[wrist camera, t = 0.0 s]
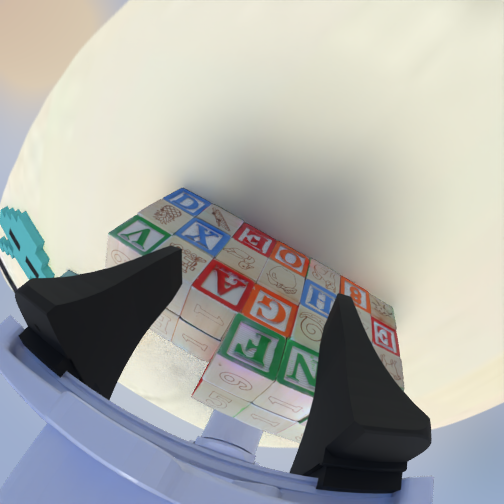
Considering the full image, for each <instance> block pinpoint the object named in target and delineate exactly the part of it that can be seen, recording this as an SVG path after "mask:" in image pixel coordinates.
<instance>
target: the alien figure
mask: <svg viewBox="0 0 504 504" xmlns="http://www.w3.org/2000/svg"><path fill="white" fill-rule="evenodd" d="M0 225H1V227H2V228H3V230H4V232H5V234H6V236H7V238H8V240H6V238H5V237H2V238H1V239H0V248H1V250H2V252H4V251H5V252H6V254H7V255H9V254H10V255H11V257H12V259H13V258H14V257H15V258H16V260H17V261H18V263H19V265H20V266H21V268H22V269H23V271H24V272H25V274H26V275H27V277H28V278H29V280H30V279H32V278H54V275H55V274H54V273H53V272H52V270H51V269H50V267H49V266H48V262H49V257H48V256H47V254H46V253H45V251H44V250H43V246H44V242H45V241H44V240H43V238H42V237H41V235H40V234H39V232H38V230H37V229H36V227H35V226H34V224H33V222H32V221H31V219H30V217H29V216H28V214H27V212H26V211H25V212H23V213H22V214H21V212H20V210H17V211H14V209H13V208H11V209H9V208H8V206H7V207H5V208H3V209H1V212H0Z"/></svg>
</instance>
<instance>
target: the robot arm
mask: <svg viewBox="0 0 504 504" xmlns="http://www.w3.org/2000/svg"><path fill="white" fill-rule="evenodd" d="M181 285H182V249H181V248H178V247H174V246H167V247H164V248H162V249H159V250H156V251H154V252H151V253H148V254H146V255H143V256H141V257H138V258H136V259H133V260H130V261H127V262H125V263H122V264H119V265H116V266H113V267H110V268H107V269H103V270H99V271H95V272H91V273H85V274H80V275H75V276H67V277H56V278H32V279H30V280H29V281H28V282H26V283H25V284H24V285H22V286H21V287H20V288H19V289H17V290H16V292H15V298H16V302H17V304H18V307H19V309H20V311H21V313H22V315H23V317H24V319H25V321H26V323H27V325H28V327H27V328H26V329H25V330H24V329H23V327H22V326H21V325H20V324H19V323H18V322H17V321H16V320H15V319H14V318H13V317H12V316H9V317H8V318H6V319H5V320H4V321H3V322H2V323H1V324H0V373H1V374H2V375H3V376H4V378H5V379H6V380H7V381H8V383H9V384H10V385H11V386H12V387H13V388H14V390H15V391H16V392H17V393H18V394H19V395H20V396H21V397H22V398H23V399H24V401H25V402H27V404H28V405H29V406H30V407H31V408H32V409H33V410H34V411H35V412H36V413H37V414H38V415H39V416H40V417H41V418H42V419H43V420H45V421H46V422H47V425H46V426H45V427H44V429H43V430H42V431H41V432H40V434H39V435H38V436H37V438H36V439H35V440H34V442H33V443H32V444H31V446H30V447H29V449H28V450H27V451H26V453H25V454H24V456H23V457H22V458H21V460H20V461H19V462H18V464H17V465H16V467H15V468H14V470H13V471H12V473H11V474H10V475H9V477H8V478H7V480H6V481H5V483H4V484H3V486H2V487H1V489H0V504H432V500H433V484H434V477H433V476H420V477H408V478H404V479H402V472H404V471H406V469H407V461H409V460H411V459H412V458H414V457H416V456H418V455H419V454H421V453H422V452H424V451H425V450H426V449H427V448H428V447H429V446H430V444H431V424H430V418H429V417H428V416H427V415H426V414H425V413H424V412H423V411H422V410H421V409H419V408H418V407H417V406H416V405H415V404H414V403H413V402H412V401H411V399H410V398H409V397H408V396H407V395H406V394H405V393H404V392H403V390H402V389H401V388H400V387H399V385H398V384H397V383H396V381H395V380H394V379H393V377H392V376H391V375H390V373H389V372H388V370H387V369H386V367H385V366H384V364H383V363H382V361H381V359H380V358H379V356H378V355H377V353H376V351H375V349H374V347H373V345H372V343H371V341H370V339H369V337H368V335H367V333H366V331H365V328H364V326H363V324H362V322H361V319H360V317H359V314H358V312H357V309H356V307H355V304H354V302H353V299H352V297H351V296H347V295H344V294H340V293H338V294H337V296H336V299H335V301H334V304H333V306H332V309H331V311H330V313H329V316H328V318H327V320H326V323H325V325H324V328H323V333H322V337H321V342H320V347H319V357H318V367H317V376H316V384H315V391H314V397H313V401H312V405H311V409H310V413H309V416H308V420H307V423H306V427H305V430H304V433H303V437H302V440H301V443H300V446H299V449H298V452H297V454H296V457H295V460H294V462H293V465H292V468H291V470H290V473H287V472H282V471H278V470H273V469H269V468H265V467H261V466H260V465H259V463H258V462H254V460H255V457H256V456H255V452H256V450H257V447H258V444H259V441H260V439H261V436H262V433H263V431H262V430H260V429H258V428H255V427H253V426H250V425H248V424H245V423H243V422H241V421H239V420H237V419H235V418H234V417H230V416H228V415H226V414H223V413H221V412H219V411H217V410H215V409H214V411H213V413H212V415H211V417H210V419H209V421H208V423H207V425H206V427H205V429H204V431H203V433H202V436H201V437H200V436H198V437H197V439H196V441H193V440H190V441H186V440H184V439H181V438H179V437H177V436H174V435H172V434H170V433H168V432H166V431H164V430H162V429H159V428H158V427H156V426H154V425H152V424H150V423H148V422H146V421H144V420H142V419H140V418H138V417H136V416H135V415H133V414H131V413H129V412H127V411H126V410H124V409H122V408H121V407H119V406H117V405H116V404H114V403H112V402H111V401H109V400H110V397H111V395H112V392H113V390H114V388H115V385H116V383H117V381H118V379H119V377H120V375H121V373H122V371H123V369H124V367H125V365H126V364H127V362H128V360H129V358H130V357H131V355H132V353H133V351H134V350H135V348H136V346H137V345H138V343H139V342H140V340H141V339H142V337H143V336H144V334H145V333H146V332H147V330H148V329H149V328H150V327H151V325H152V324H153V323H154V322H155V321H156V319H157V318H158V317H159V316H160V315H161V313H162V312H163V311H164V310H165V309H166V307H167V306H168V305H169V304H170V302H171V301H172V300H173V298H174V297H175V295H176V294H177V292H178V290H179V289H180V287H181Z"/></svg>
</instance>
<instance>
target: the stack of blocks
mask: <svg viewBox="0 0 504 504" xmlns="http://www.w3.org/2000/svg"><path fill="white" fill-rule="evenodd" d="M167 246H174V247H178V248H181V249H182V285H181V287H180V289H179V290H178V292H177V294H176V295H175V297H174V298H173V300H172V301H171V302H170V304H169V305H168V306H167V307H166V309H165V310H164V311H163V312H162V313H161V315H160V316H159V317H158V318H157V319H156V321H155V322H154V323H153V324H152V325H151V327H150V328H149V329H151V330H152V331H154V332H155V333H157V334H158V335H160V336H162V337H163V338H165V339H166V340H168V341H171V342H172V343H173V344H174V345H176V346H178V347H179V348H181V349H183V350H184V351H186V352H188V353H190V354H192V355H193V356H195V357H197V358H199V359H201V360H203V361H206V362H209V364H208V365H207V367H206V369H205V371H204V373H203V375H202V377H201V379H200V380H199V383H198V384H197V386H196V388H195V390H194V392H193V394H192V396H191V397H192V398H194V399H195V400H197V401H199V402H201V403H203V404H205V405H207V406H209V407H211V408H213V409H215V410H217V411H219V412H221V413H223V414H226V415H228V416H230V417H234V418H235V419H237V420H239V421H241V422H243V423H245V424H248V425H250V426H253V427H255V428H258V429H260V430H262V431H265V432H268V433H272V434H275V435H277V436H280V437H283V438H285V439H288V440H291V441H294V442H297V443H301V440H302V437H303V433H304V430H305V427H306V423H307V420H308V416H309V413H310V409H311V405H312V401H313V397H314V391H315V384H316V376H317V367H318V357H319V347H320V342H321V337H322V333H323V328H324V325H325V323H326V320H327V318H328V316H329V313H330V311H331V309H332V306H333V304H334V301H335V299H336V296H337V294H338V293H340V294H344V295H347V296H351V297H352V299H353V302H354V304H355V307H356V309H357V312H358V314H359V317H360V319H361V322H362V324H363V326H364V328H365V331H366V333H367V335H368V337H369V339H370V341H371V343H372V345H373V347H374V349H375V351H376V353H377V355H378V356H379V358H380V359H381V361H382V363H383V364H384V366H385V367H386V369H387V370H388V372H389V373H390V375H391V376H392V377H393V379H394V380H395V381H396V383H397V384H398V385H399V387H400V388H401V389H402V390H403V392H404V381H403V378H404V377H403V372H402V371H403V368H402V361H401V359H400V352H399V345H398V338H397V333H396V322H395V317H394V312H393V308H392V307H391V306H389V305H387V304H386V303H384V302H382V301H381V300H379V299H378V298H376V297H374V296H373V295H371V294H369V293H368V291H366V290H365V289H363V288H361V287H360V286H358V285H356V284H355V283H353V282H351V281H350V280H348V279H346V278H345V277H343V276H341V275H339V274H338V273H336V272H335V271H333V270H331V269H330V268H328V267H326V266H325V265H323V264H321V263H319V262H318V261H316V260H314V259H312V258H308V257H306V256H305V255H303V254H301V253H299V252H297V251H296V250H294V249H292V248H291V247H289V246H287V245H285V244H284V243H282V242H280V241H276V240H275V239H273V238H272V237H270V236H268V235H267V234H265V233H263V232H261V231H259V230H257V229H256V228H254V227H252V226H250V225H249V224H246V223H244V221H243V220H242V219H240V218H238V217H236V216H234V215H233V214H231V213H229V212H227V211H225V210H224V209H222V208H220V207H218V206H216V205H214V204H211V203H210V202H208V201H207V200H205V199H203V198H201V197H199V196H197V195H195V194H193V193H192V192H190V191H188V190H186V189H184V188H181V189H179V190H177V191H175V192H173V193H171V194H170V195H168V196H166V197H164V198H163V199H160V200H158V201H156V202H155V203H153V204H151V205H149V206H148V207H146V208H144V209H143V210H141V211H140V212H138V214H137V215H135V216H134V217H132V218H130V219H129V220H127V221H126V222H124V223H123V224H121V225H120V226H118V227H117V228H115V229H114V230H112V231H111V232H109V233H108V241H107V253H106V265H105V267H106V269H107V268H110V267H113V266H116V265H119V264H122V263H125V262H127V261H130V260H133V259H136V258H138V257H141V256H143V255H146V254H148V253H151V252H154V251H156V250H159V249H162V248H164V247H167Z"/></svg>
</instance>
